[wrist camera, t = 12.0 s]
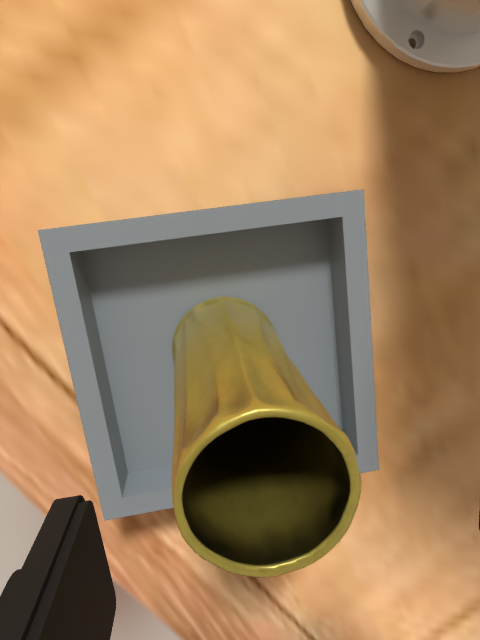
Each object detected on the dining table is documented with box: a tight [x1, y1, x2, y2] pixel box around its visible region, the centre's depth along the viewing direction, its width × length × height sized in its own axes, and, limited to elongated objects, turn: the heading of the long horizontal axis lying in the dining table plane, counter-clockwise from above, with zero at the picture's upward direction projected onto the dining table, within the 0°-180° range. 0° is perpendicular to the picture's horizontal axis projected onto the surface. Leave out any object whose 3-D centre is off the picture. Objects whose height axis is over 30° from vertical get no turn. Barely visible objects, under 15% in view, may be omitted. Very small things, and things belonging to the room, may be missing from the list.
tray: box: [38, 189, 379, 521], centre depth 25 cm, size 16×16×4 cm
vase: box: [172, 297, 361, 578], centre depth 19 cm, size 6×6×14 cm
